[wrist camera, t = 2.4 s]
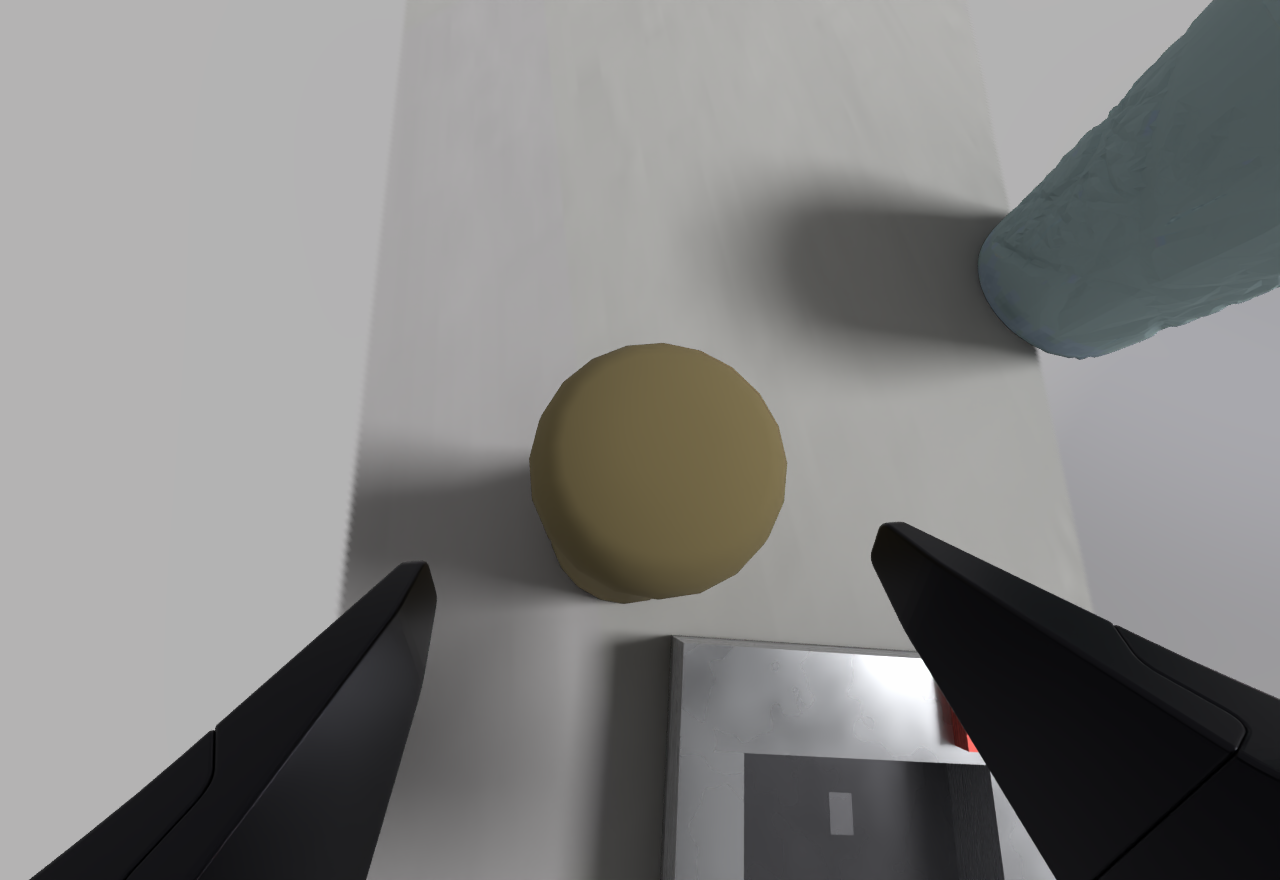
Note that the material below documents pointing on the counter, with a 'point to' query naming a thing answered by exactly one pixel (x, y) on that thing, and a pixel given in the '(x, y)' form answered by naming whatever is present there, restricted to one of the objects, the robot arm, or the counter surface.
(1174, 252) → the teal cup
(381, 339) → the counter surface
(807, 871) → the socket plate
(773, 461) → the cork
